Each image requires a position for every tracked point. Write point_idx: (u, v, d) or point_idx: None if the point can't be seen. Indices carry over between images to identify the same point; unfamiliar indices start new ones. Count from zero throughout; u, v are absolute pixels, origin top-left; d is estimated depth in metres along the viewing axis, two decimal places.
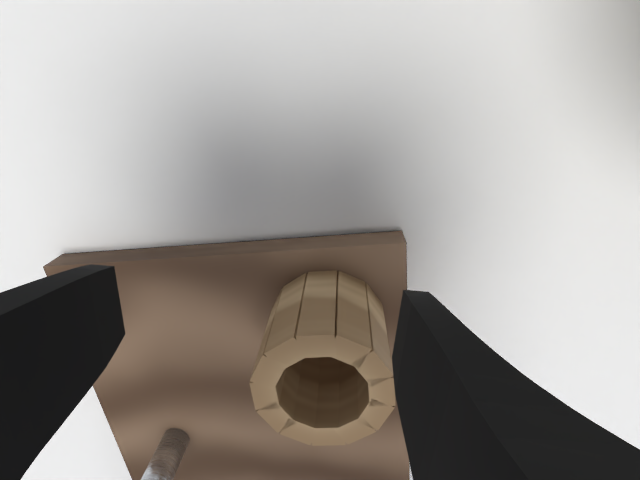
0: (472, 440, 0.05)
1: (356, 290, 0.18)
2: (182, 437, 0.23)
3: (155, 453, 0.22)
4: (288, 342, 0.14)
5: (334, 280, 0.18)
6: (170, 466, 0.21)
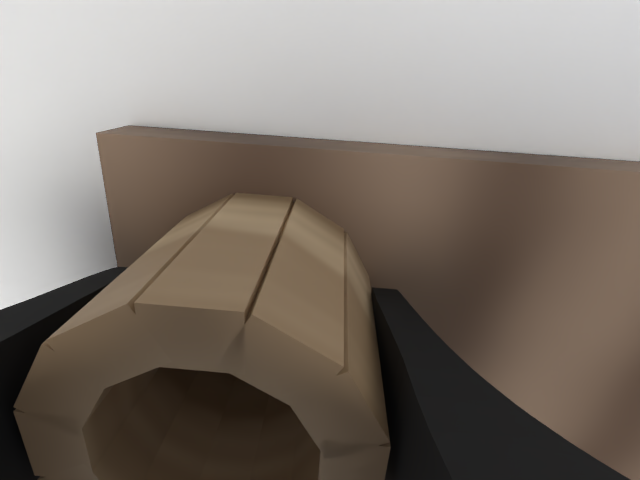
0: (414, 435, 0.05)
1: None
2: None
3: None
4: None
5: None
6: None
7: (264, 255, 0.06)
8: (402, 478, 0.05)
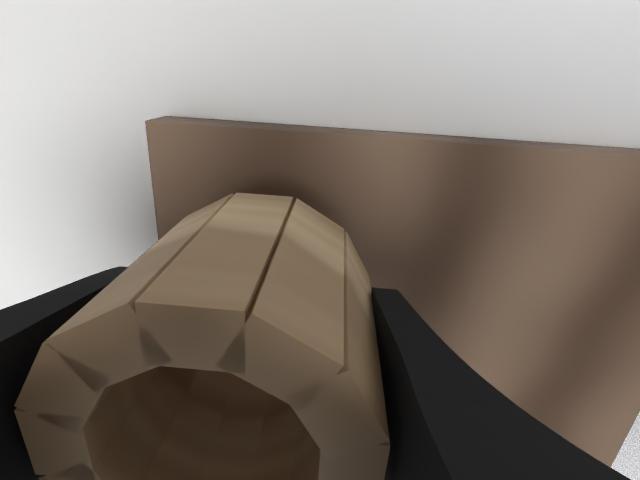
0: (414, 435, 0.05)
1: None
2: None
3: None
4: None
5: None
6: None
7: (264, 255, 0.06)
8: (402, 478, 0.05)
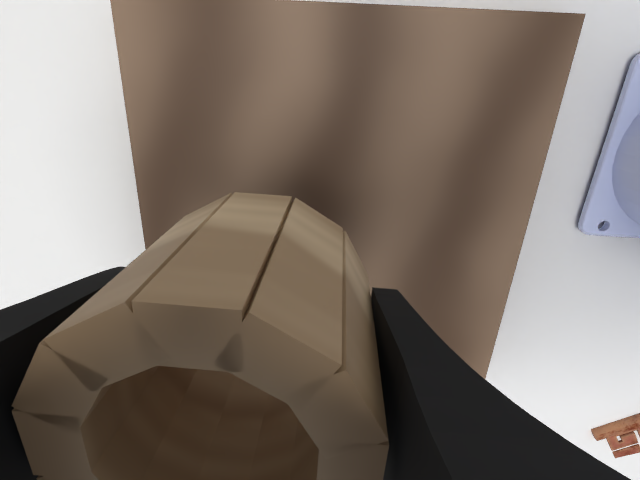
0: (414, 435, 0.05)
1: None
2: None
3: None
4: None
5: None
6: None
7: (262, 254, 0.06)
8: (402, 478, 0.05)
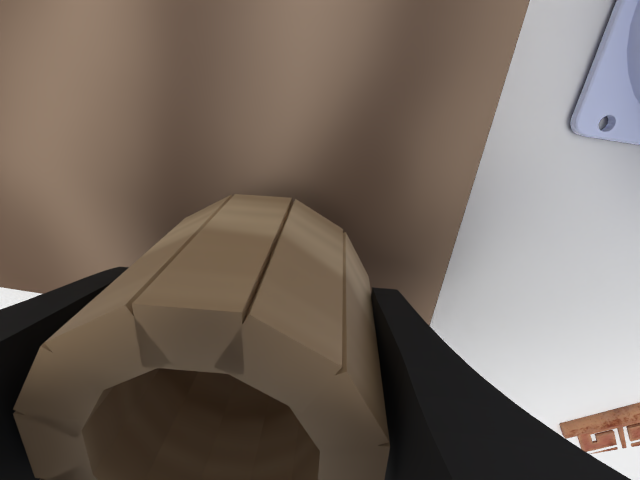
0: (415, 435, 0.05)
1: None
2: None
3: None
4: None
5: None
6: None
7: (262, 256, 0.06)
8: (402, 478, 0.05)
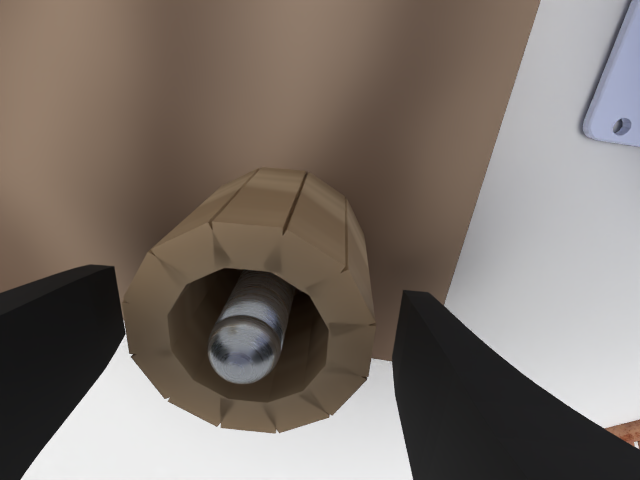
0: (472, 440, 0.05)
1: None
2: None
3: None
4: (141, 365, 0.09)
5: None
6: None
7: (290, 202, 0.09)
8: None
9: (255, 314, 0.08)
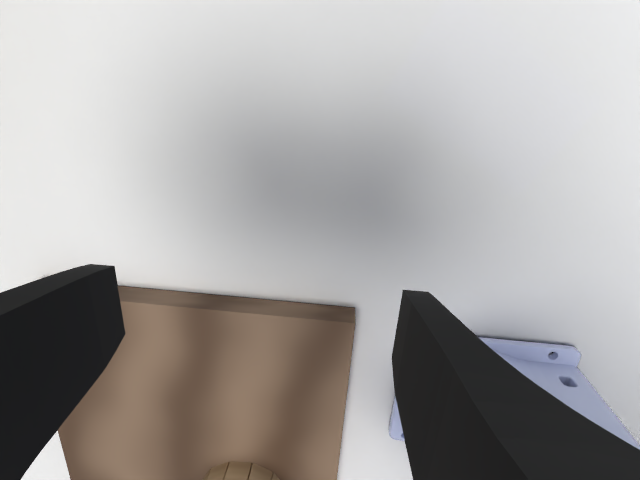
0: (472, 440, 0.05)
1: None
2: None
3: None
4: None
5: None
6: None
7: None
8: None
9: None
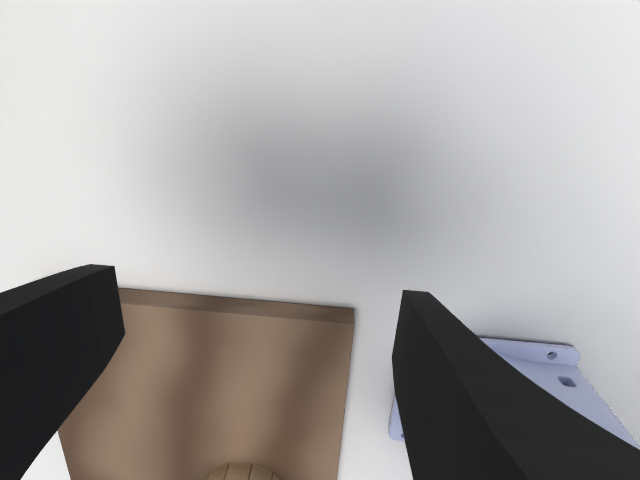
0: (472, 440, 0.05)
1: None
2: None
3: None
4: None
5: None
6: None
7: None
8: None
9: None
